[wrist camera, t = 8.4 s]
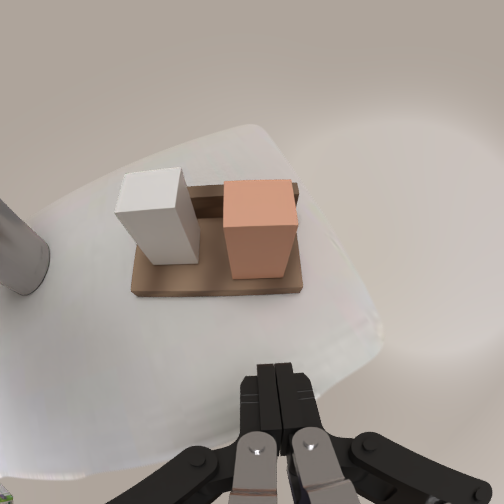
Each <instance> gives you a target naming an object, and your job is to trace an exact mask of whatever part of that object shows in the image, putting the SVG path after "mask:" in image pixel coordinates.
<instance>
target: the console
mask: <svg viewBox="0 0 504 504" xmlns="http://www.w3.org/2000/svg"><path fill="white" fill-rule="evenodd" d="M292 187H293V193H294V199H295V206H296V205H297V201H298V197H299V190H298V185H297V183H292ZM187 189H188V192H189V195H190V199H191V202H192V205H193V208H194V212H195V215H196V218H197V221H198V224H199V227H200V244H199V264H168V265H153V264H152V263H151V261H150V260H149V259H148V258H147V256H146V255H145V254H144V252H143V251H142V250H141V249H140V247H139V246H138V245H137V247H136V253H135V260H134V267H133V275H132V283H131V292H132V293H134V294H135V295H136V296H138V297H196V296H239V295H265V294H286V293H300V291H301V290H302V288H303V282H302V273H301V264H300V256H299V248H298V241H297V233H296V235H295V238H294V242H293V245H292V249H291V252H290V256H289V259H288V262H287V266H286V269H285V272H284V276H283V277H281V278H258V279H232V273H231V268H230V262H229V257H228V252H227V246H226V240H225V235H224V229H223V207H224V185H206V186H191V187H187Z"/></svg>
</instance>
